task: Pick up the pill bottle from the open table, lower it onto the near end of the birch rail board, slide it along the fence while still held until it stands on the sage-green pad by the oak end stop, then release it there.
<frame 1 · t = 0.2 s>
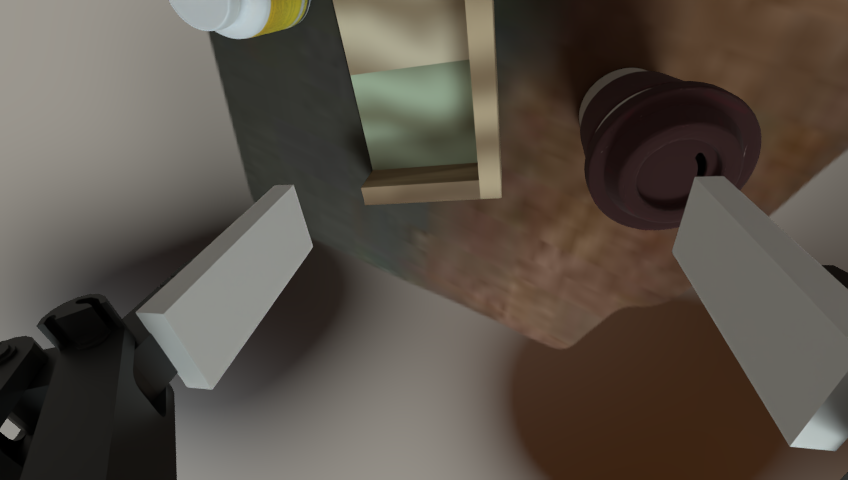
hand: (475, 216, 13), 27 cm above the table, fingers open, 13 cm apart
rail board: (421, 64, 37), on the table
coffee cup: (619, 108, 36), on the table
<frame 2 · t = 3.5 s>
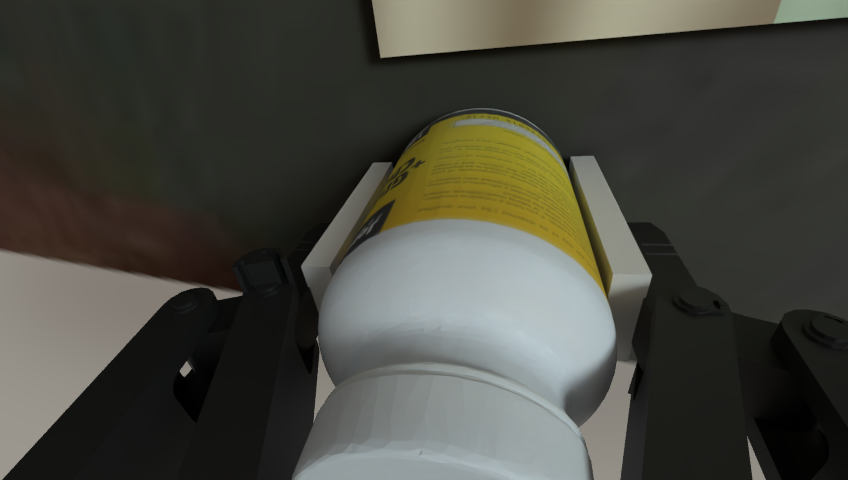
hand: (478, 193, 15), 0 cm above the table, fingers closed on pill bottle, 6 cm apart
pill bottle: (478, 185, 15), on the table, touching gripper
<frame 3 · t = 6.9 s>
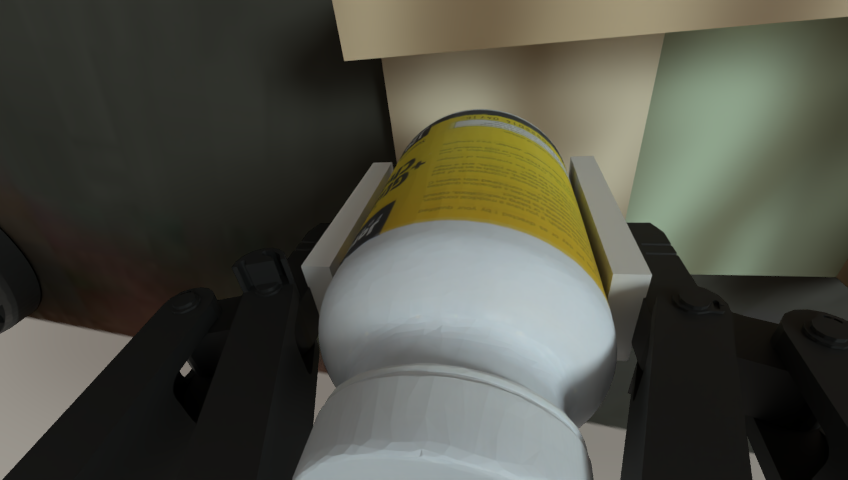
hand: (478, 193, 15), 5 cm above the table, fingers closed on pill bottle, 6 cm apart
pill bottle: (479, 185, 15), point 4 cm above the table, touching gripper
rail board: (636, 141, 17), on the table
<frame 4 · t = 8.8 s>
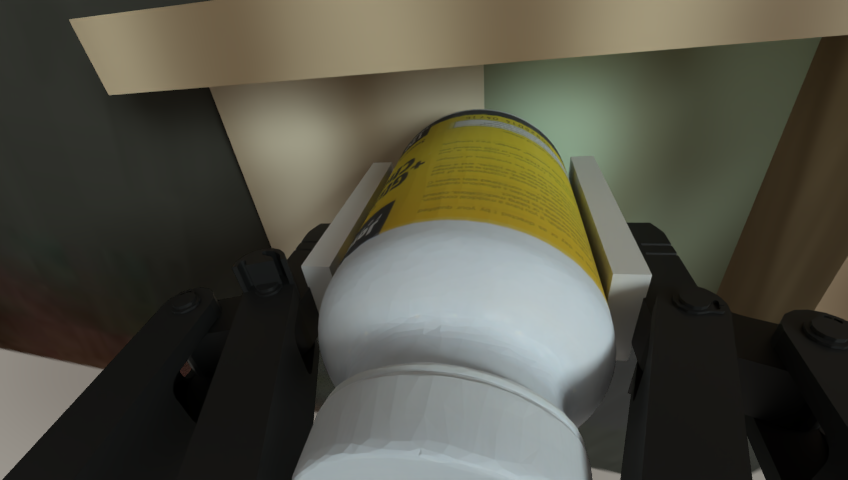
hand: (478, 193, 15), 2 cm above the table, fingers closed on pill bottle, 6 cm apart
pill bottle: (478, 185, 15), point 1 cm above the table, touching gripper
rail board: (486, 170, 16), on the table
when the fingers open (1 cm above the table, at t = 10.3 s): pill bottle stays where it is, resting on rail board.
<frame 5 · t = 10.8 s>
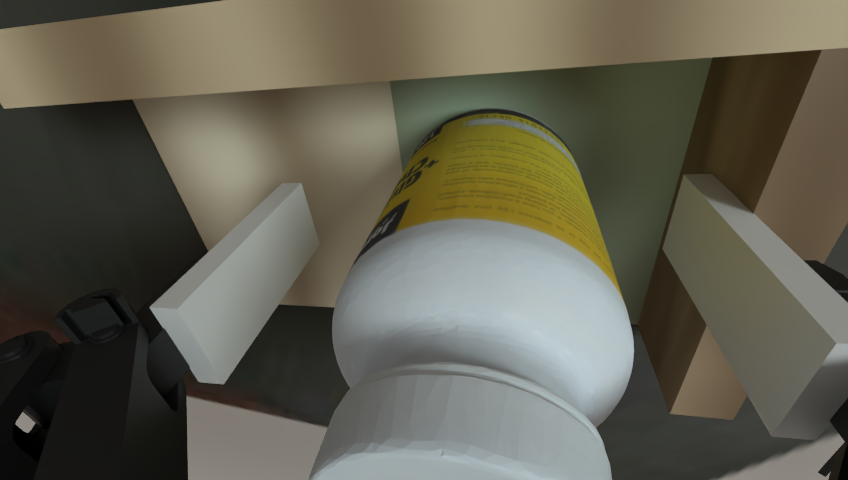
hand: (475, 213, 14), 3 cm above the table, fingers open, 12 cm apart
pill bottle: (489, 185, 15), resting on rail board
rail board: (408, 181, 16), on the table
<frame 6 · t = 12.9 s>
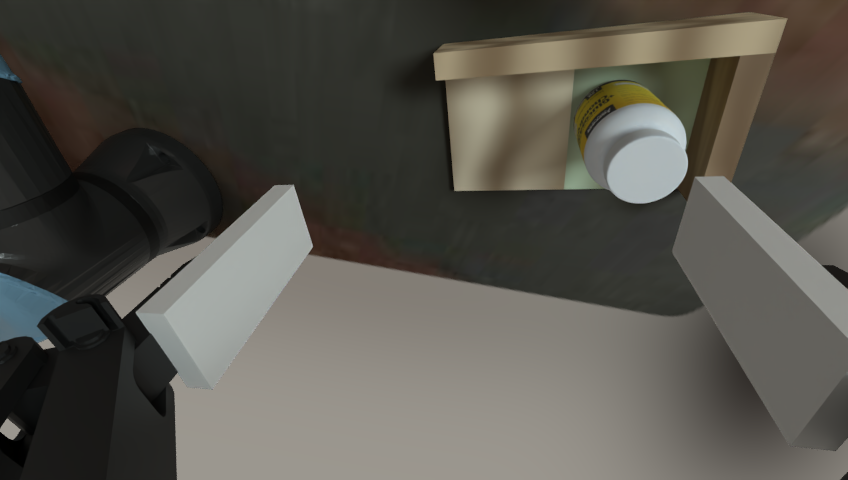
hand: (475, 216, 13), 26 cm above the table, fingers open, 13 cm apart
pill bottle: (610, 116, 34), resting on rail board
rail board: (569, 116, 35), on the table
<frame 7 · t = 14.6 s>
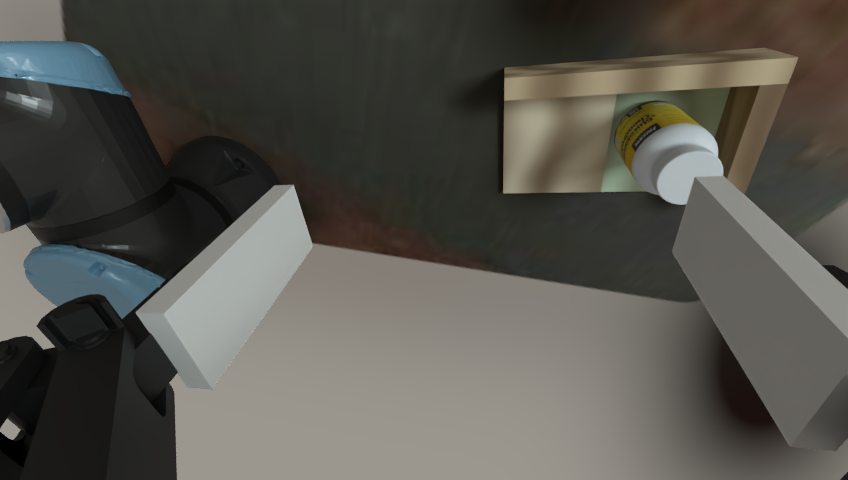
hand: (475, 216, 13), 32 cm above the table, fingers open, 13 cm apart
pill bottle: (645, 130, 40), resting on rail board
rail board: (609, 130, 41), on the table
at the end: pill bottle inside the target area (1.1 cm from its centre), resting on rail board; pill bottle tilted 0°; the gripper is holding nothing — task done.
